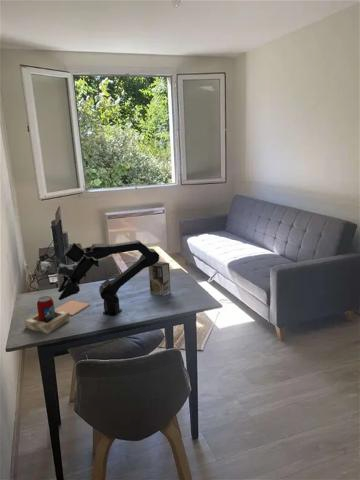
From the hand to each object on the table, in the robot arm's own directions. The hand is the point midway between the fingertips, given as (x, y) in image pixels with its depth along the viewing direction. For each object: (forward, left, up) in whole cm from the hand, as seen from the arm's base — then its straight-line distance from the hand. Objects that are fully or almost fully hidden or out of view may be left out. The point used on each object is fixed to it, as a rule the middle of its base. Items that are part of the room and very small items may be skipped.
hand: (59, 295), depth 157 cm
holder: (+4, +4, -12) cm, 14 cm away
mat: (+5, -12, -12) cm, 18 cm away
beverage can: (+4, +4, -13) cm, 14 cm away
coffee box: (-26, -44, -13) cm, 52 cm away
